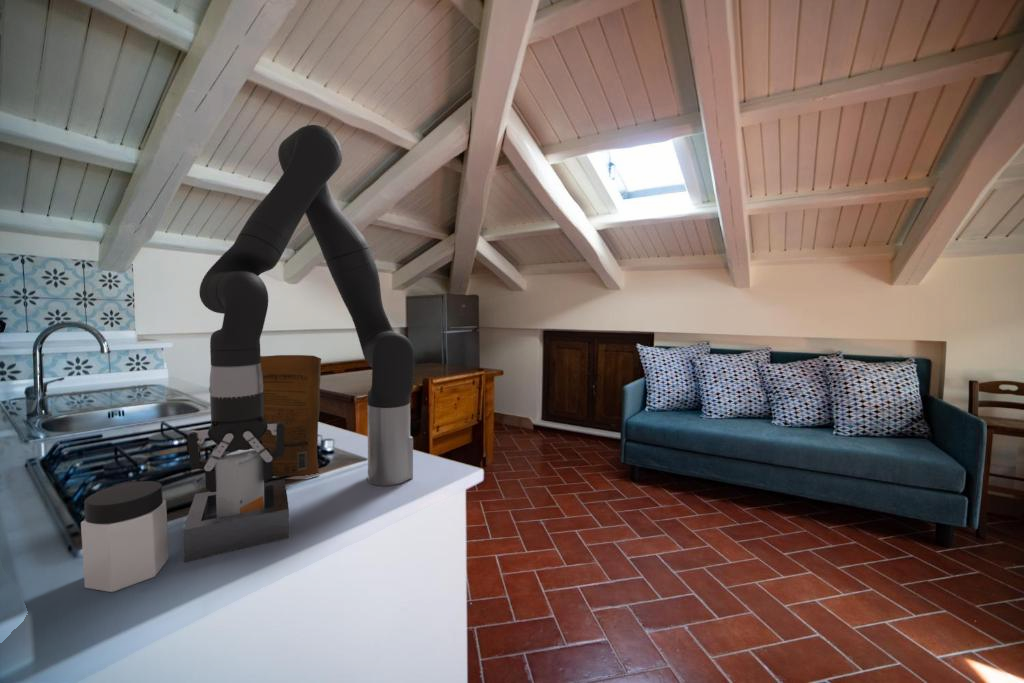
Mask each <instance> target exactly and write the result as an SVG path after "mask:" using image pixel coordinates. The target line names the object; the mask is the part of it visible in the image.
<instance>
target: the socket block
mask: <svg viewBox="0 0 1024 683" xmlns="http://www.w3.org/2000/svg"><path fill="white" fill-rule="evenodd" d="M286 485H287V484H286V479H274V480H270V481H269V480H268V483H264V509H260V510H255V511H250V512H245V513H240V514H235V515H230V516H225V517H219V518H217V512H216V492H211V490H210V491H204V492H199V493H195V494H194V497H193V500H192V502H191V505H190V507H189V511H188V514H187V517H186V520H185V523H184V526H183V528H182V540H183V541H182V542H183V544H182V545H183V546H182V547H183V563H187V562H191V561H195V560H201V559H205V558H210V557H212V556H213V557H214V556H216V555H221V554H227V553H230V552H234V551H239V550H243V549H247V548H252V547H256V546H260V545H264V544H269V543H273V542H277V541H282V540H286V539H290V509H289V507H290V506H289V502H288V501H289V500H288V492H287V486H286Z"/></svg>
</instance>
